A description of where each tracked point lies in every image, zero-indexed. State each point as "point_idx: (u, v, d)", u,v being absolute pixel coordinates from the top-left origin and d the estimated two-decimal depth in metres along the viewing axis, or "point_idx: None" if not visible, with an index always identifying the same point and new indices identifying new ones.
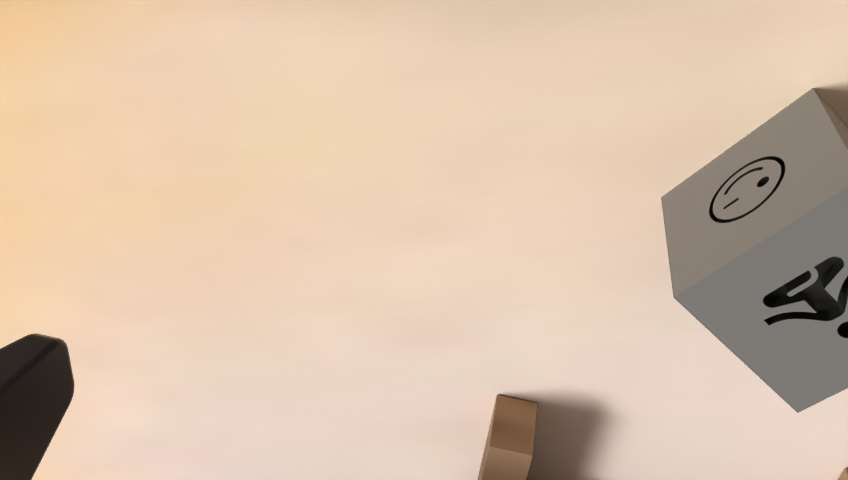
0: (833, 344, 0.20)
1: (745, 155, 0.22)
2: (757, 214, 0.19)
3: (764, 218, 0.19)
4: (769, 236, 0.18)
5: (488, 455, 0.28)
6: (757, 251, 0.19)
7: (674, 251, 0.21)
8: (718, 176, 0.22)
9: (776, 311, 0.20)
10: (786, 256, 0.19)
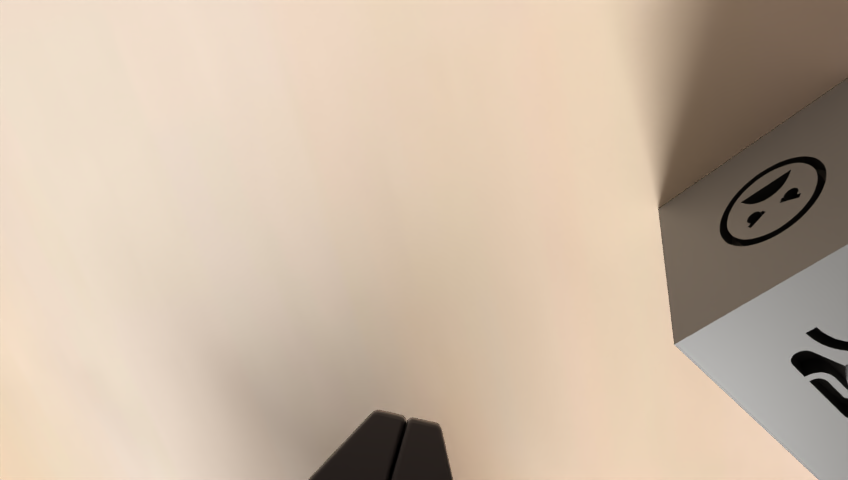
0: None
1: None
2: None
3: None
4: (749, 414, 0.16)
5: None
6: (770, 424, 0.16)
7: None
8: None
9: None
10: (783, 400, 0.15)
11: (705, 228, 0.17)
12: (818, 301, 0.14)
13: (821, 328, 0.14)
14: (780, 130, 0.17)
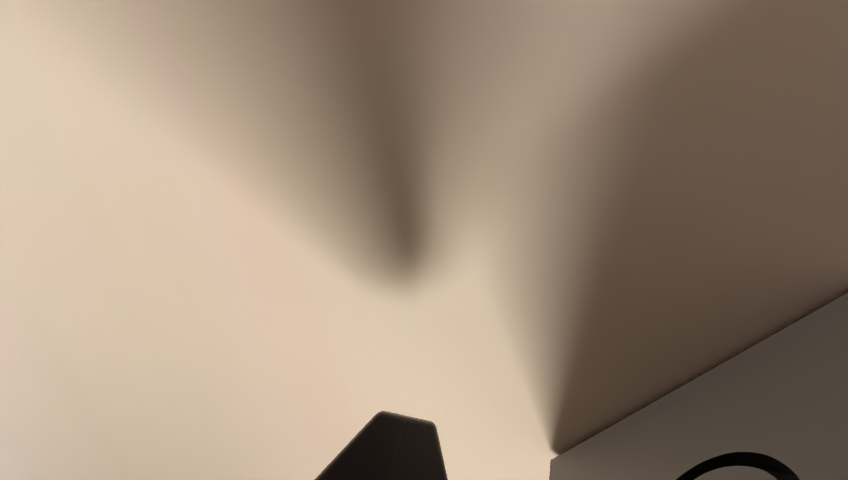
0: None
1: None
2: None
3: None
4: None
5: None
6: None
7: None
8: None
9: None
10: None
11: None
12: None
13: None
14: (739, 374, 0.10)
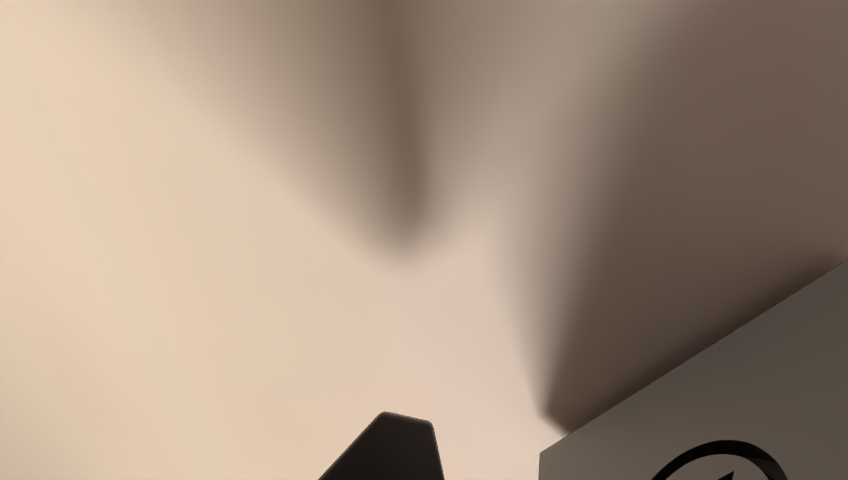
0: None
1: None
2: None
3: None
4: None
5: None
6: None
7: None
8: None
9: None
10: None
11: None
12: None
13: None
14: (720, 360, 0.10)
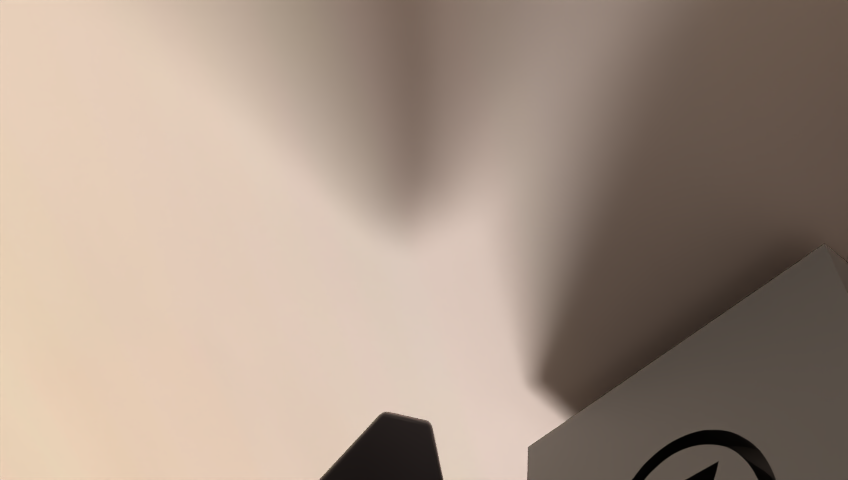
0: None
1: None
2: None
3: None
4: None
5: None
6: None
7: None
8: None
9: None
10: None
11: None
12: None
13: None
14: (703, 349, 0.10)
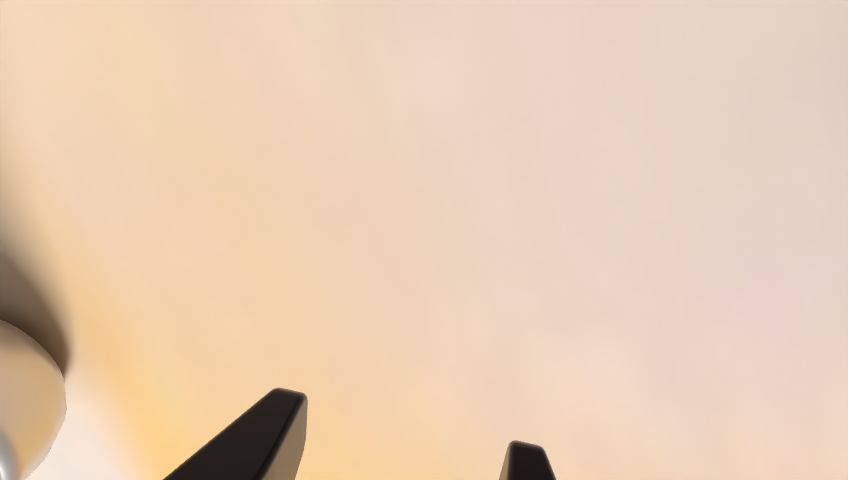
0: None
1: None
2: None
3: None
4: None
5: None
6: None
7: None
8: None
9: None
10: None
11: None
12: None
13: None
14: None
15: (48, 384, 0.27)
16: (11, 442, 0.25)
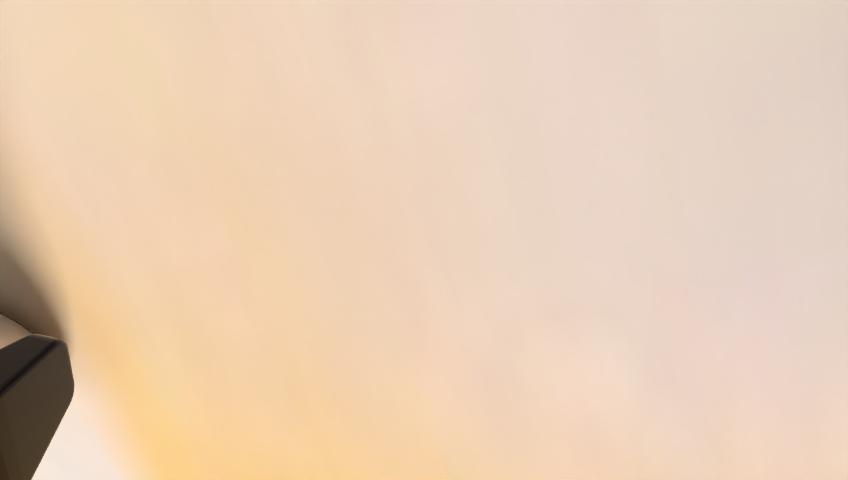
0: None
1: None
2: None
3: None
4: None
5: None
6: None
7: None
8: None
9: None
10: None
11: None
12: None
13: None
14: None
15: None
16: None
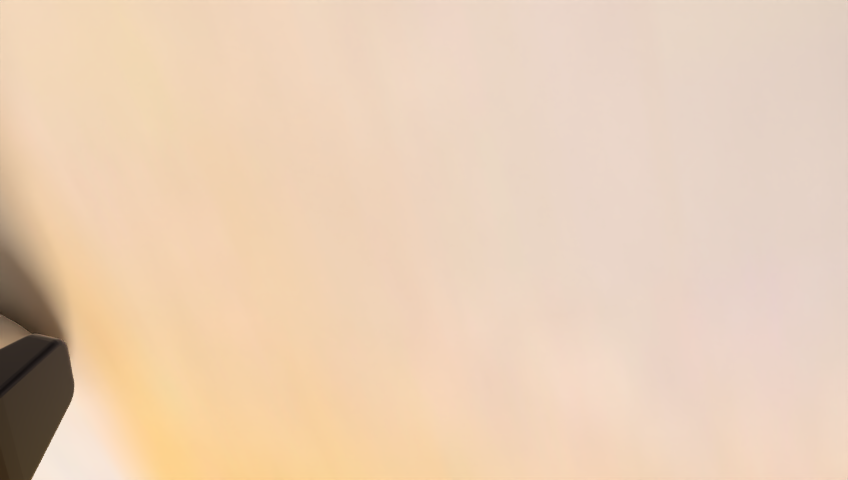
0: None
1: None
2: None
3: None
4: None
5: None
6: None
7: None
8: None
9: None
10: None
11: None
12: None
13: None
14: None
15: None
16: None
